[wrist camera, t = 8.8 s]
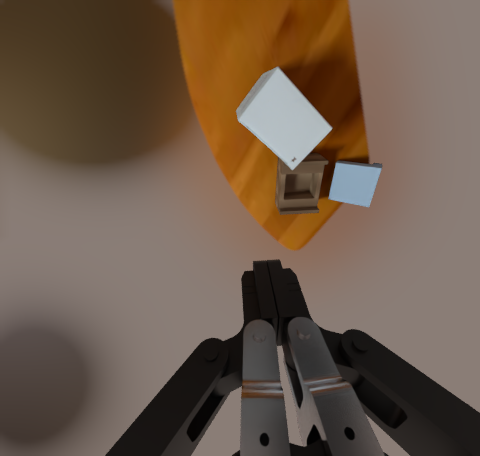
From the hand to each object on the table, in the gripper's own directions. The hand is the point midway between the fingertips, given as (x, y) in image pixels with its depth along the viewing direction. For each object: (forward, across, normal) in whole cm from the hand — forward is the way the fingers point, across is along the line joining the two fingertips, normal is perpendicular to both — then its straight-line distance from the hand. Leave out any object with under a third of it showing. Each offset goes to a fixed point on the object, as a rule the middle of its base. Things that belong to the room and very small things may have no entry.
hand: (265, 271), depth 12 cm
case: (+24, -8, +4) cm, 26 cm away
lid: (+21, -16, +5) cm, 27 cm away
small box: (+25, -4, -5) cm, 25 cm away
